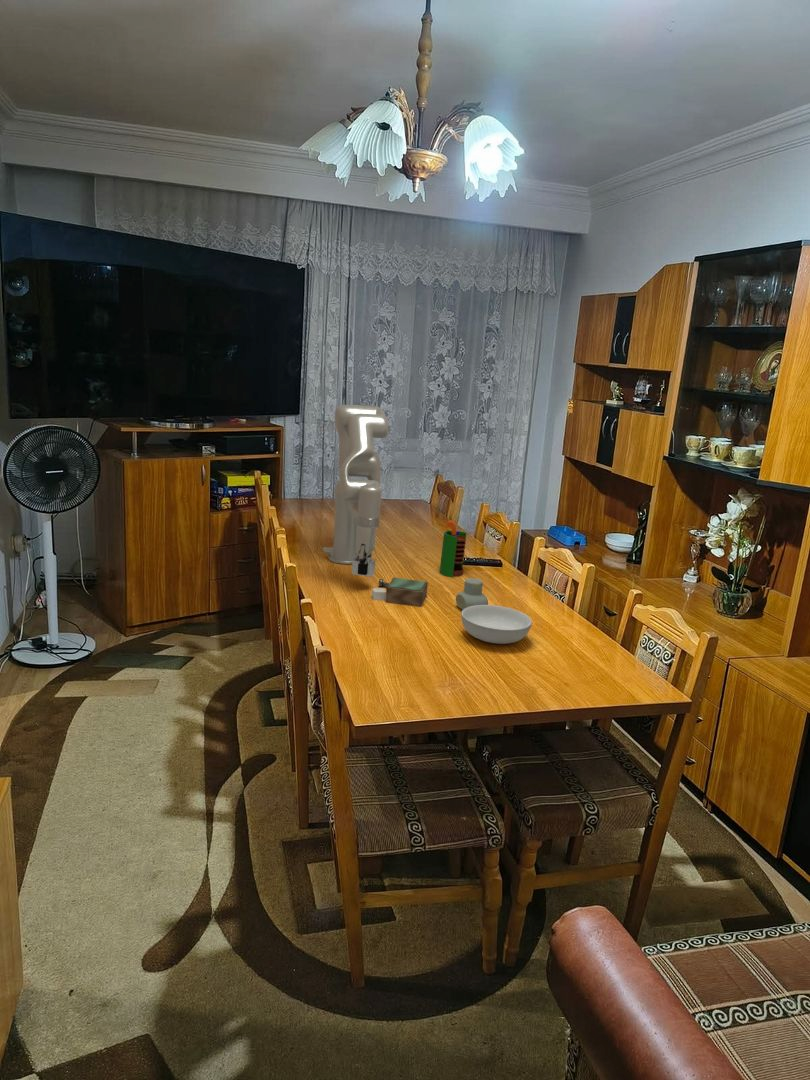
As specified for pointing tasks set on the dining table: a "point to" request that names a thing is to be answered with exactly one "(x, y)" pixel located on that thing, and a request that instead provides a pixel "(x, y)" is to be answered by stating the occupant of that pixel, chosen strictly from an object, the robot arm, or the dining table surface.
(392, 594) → the plinth
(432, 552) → the dining table surface
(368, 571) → the housing
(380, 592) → the block
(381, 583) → the loose bolt
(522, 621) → the serving bowl
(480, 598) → the grey pipe tee
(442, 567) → the motor
